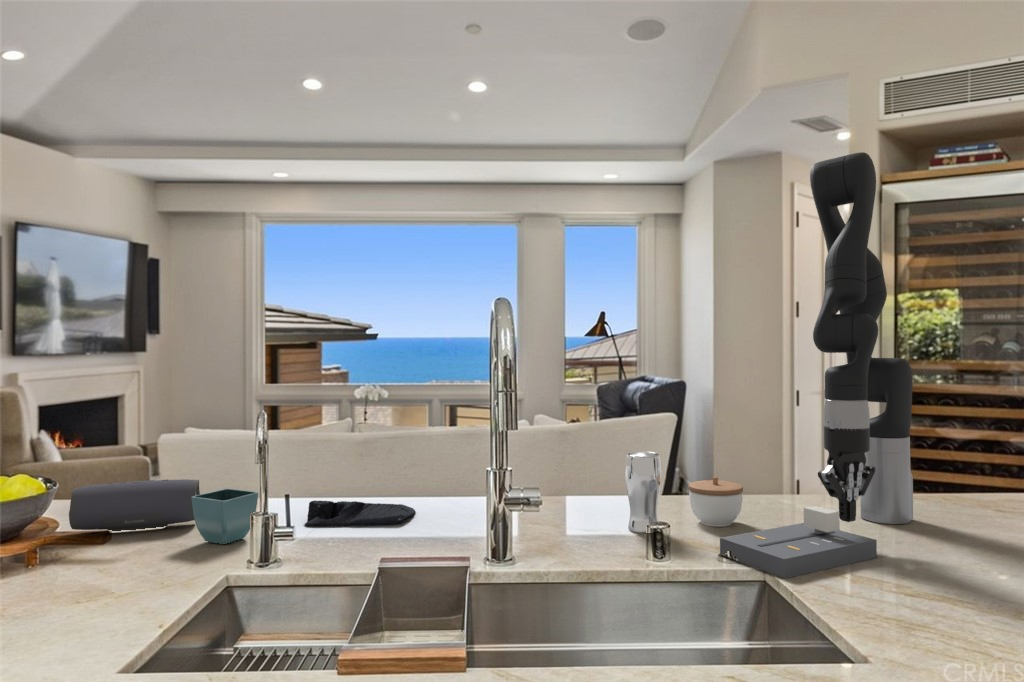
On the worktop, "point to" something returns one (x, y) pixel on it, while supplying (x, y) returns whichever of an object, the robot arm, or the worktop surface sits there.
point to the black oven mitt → (355, 513)
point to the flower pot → (224, 514)
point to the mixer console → (798, 549)
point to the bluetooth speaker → (132, 504)
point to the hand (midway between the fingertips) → (847, 520)
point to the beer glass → (643, 488)
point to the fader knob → (821, 519)
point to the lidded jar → (715, 501)
